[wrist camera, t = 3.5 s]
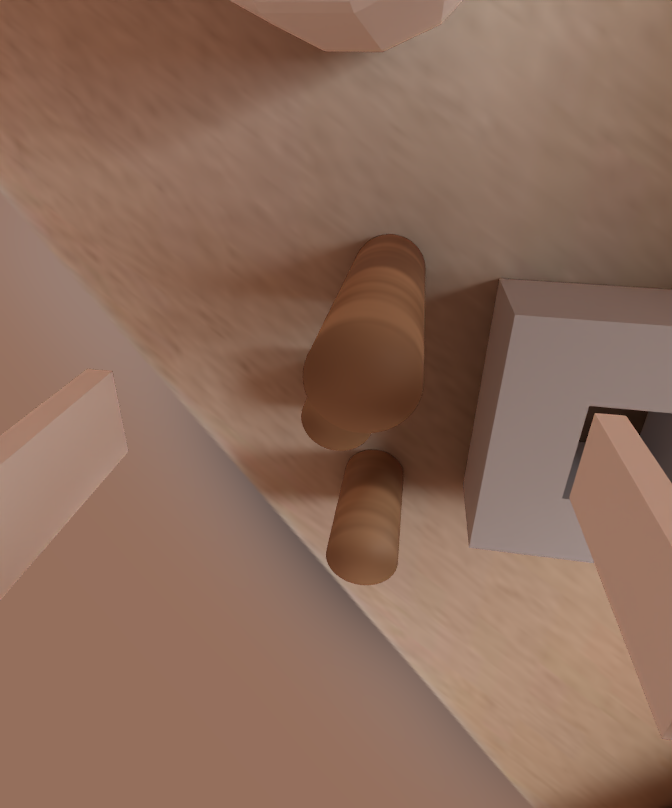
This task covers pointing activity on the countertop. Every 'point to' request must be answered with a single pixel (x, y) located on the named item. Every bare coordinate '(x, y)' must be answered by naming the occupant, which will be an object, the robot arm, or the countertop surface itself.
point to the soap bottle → (352, 20)
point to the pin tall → (372, 341)
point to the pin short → (329, 431)
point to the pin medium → (367, 519)
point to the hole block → (560, 404)
